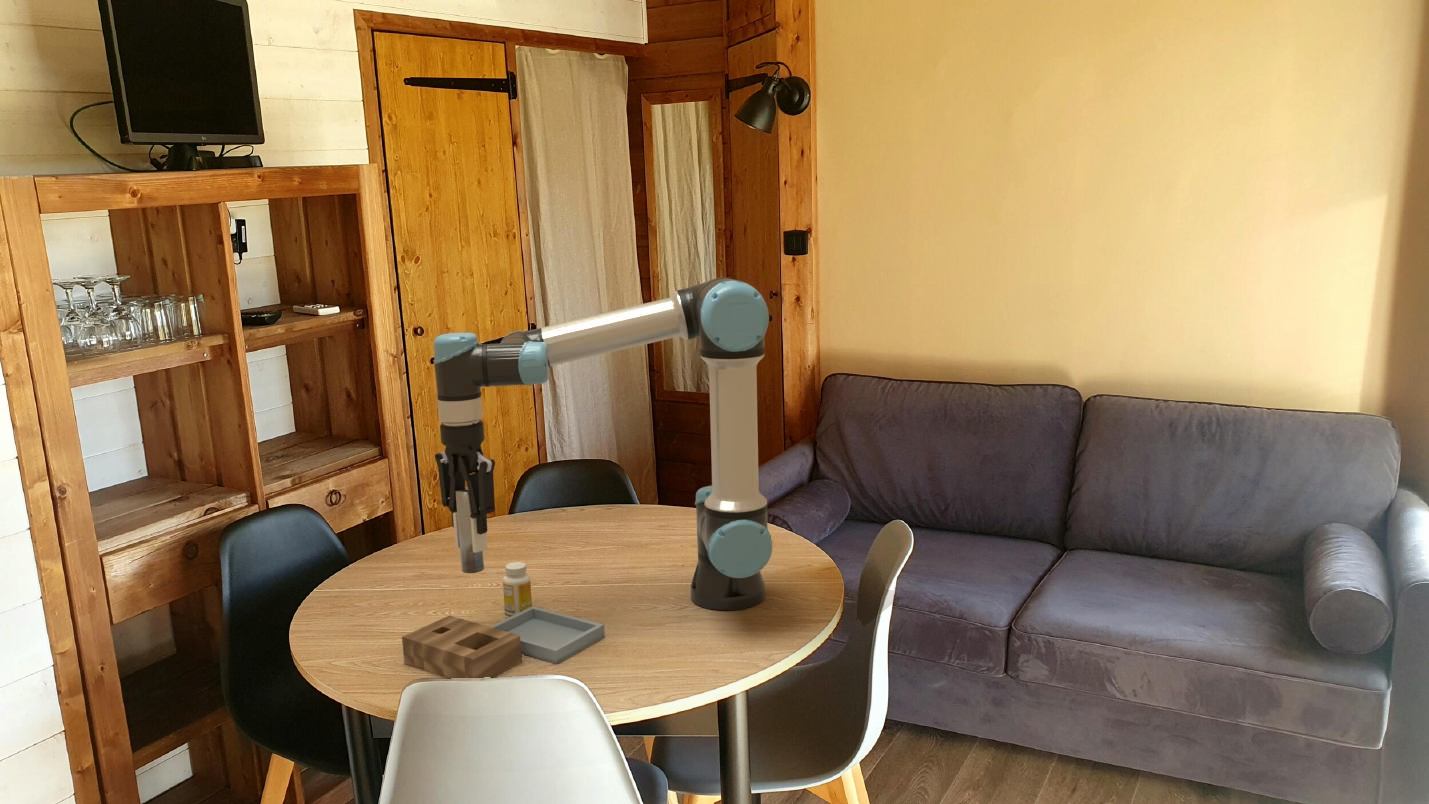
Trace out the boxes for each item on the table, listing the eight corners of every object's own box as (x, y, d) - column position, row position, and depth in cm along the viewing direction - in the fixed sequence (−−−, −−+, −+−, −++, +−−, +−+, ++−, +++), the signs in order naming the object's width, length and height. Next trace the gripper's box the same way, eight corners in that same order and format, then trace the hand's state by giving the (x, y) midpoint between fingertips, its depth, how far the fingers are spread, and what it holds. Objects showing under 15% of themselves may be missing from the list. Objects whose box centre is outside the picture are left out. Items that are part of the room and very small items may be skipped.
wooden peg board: (521, 662, 183) (519, 635, 182) (475, 687, 174) (473, 659, 173) (451, 640, 193) (449, 615, 192) (404, 663, 184) (401, 636, 183)
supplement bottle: (503, 617, 203) (500, 571, 201) (506, 607, 208) (502, 561, 206) (531, 615, 203) (528, 569, 201) (533, 605, 208) (530, 560, 207)
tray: (604, 637, 192) (604, 624, 192) (556, 664, 182) (556, 650, 181) (533, 618, 202) (532, 606, 202) (484, 642, 192) (483, 629, 191)
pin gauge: (488, 568, 188) (482, 488, 185) (471, 574, 185) (465, 493, 182) (474, 564, 190) (468, 485, 188) (457, 570, 187) (450, 490, 184)
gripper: (510, 422, 180) (519, 550, 185) (446, 412, 190) (456, 534, 195) (477, 430, 174) (487, 562, 179) (413, 420, 184) (424, 545, 189)
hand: (471, 547), depth 187 cm, fingers closed on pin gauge, 4 cm apart
